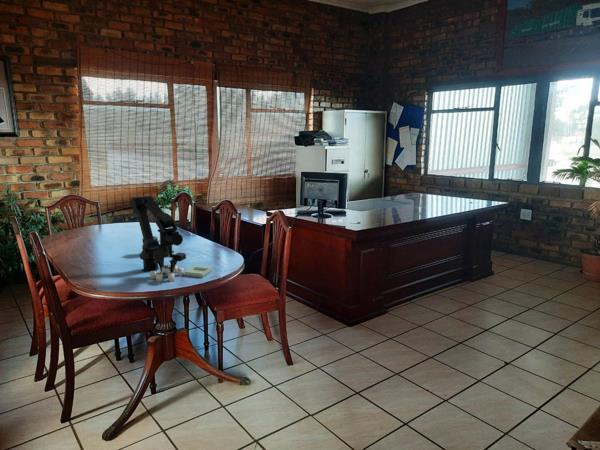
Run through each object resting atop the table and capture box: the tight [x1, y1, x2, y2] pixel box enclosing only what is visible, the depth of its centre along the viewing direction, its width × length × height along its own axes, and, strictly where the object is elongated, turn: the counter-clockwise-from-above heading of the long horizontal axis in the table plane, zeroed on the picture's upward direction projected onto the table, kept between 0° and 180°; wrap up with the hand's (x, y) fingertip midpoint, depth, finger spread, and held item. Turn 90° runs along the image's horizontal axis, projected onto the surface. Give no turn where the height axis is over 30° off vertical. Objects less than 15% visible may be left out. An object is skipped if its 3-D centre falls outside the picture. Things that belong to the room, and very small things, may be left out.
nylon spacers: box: [149, 264, 185, 283], centre depth 222 cm, size 13×17×4 cm
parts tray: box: [184, 265, 212, 279], centre depth 228 cm, size 10×10×2 cm
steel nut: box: [162, 264, 171, 277], centre depth 222 cm, size 5×5×4 cm
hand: (167, 271), depth 222 cm, fingers closed on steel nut, 5 cm apart
